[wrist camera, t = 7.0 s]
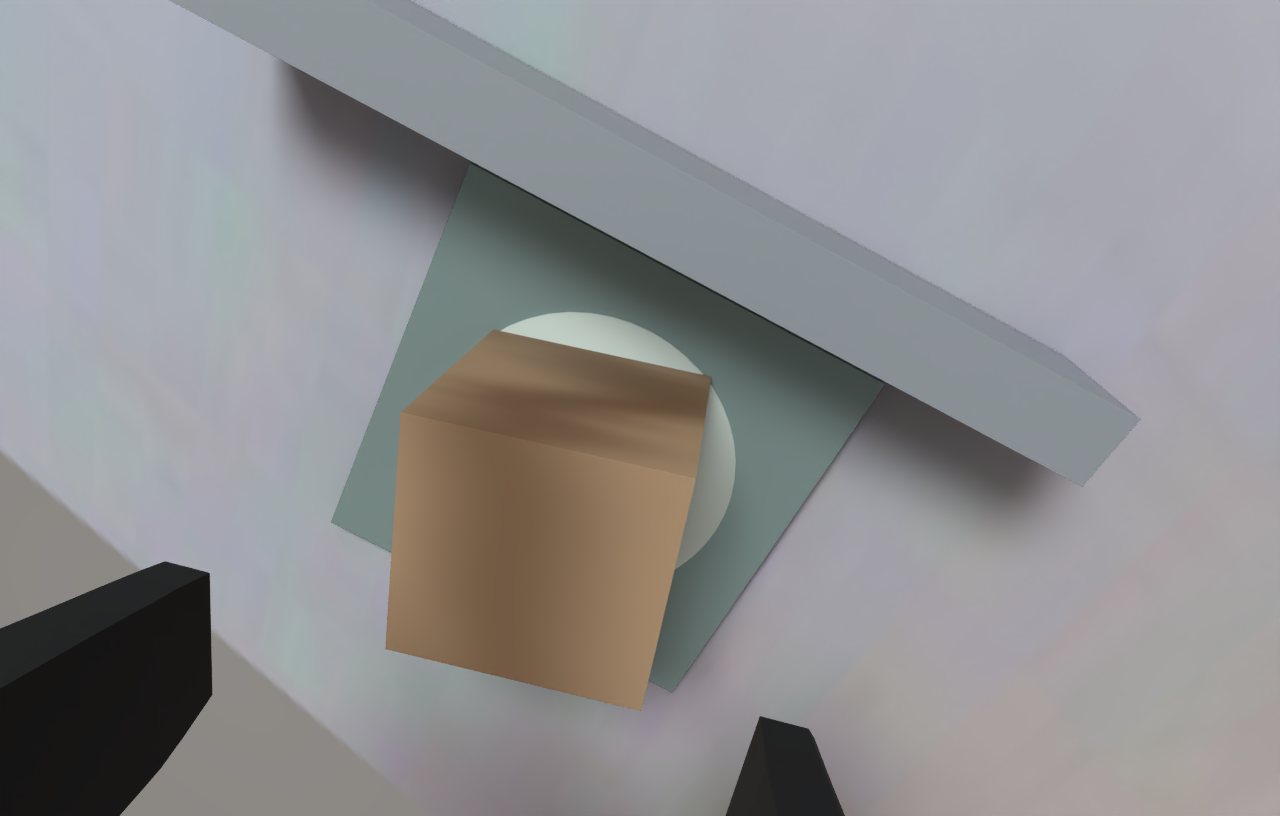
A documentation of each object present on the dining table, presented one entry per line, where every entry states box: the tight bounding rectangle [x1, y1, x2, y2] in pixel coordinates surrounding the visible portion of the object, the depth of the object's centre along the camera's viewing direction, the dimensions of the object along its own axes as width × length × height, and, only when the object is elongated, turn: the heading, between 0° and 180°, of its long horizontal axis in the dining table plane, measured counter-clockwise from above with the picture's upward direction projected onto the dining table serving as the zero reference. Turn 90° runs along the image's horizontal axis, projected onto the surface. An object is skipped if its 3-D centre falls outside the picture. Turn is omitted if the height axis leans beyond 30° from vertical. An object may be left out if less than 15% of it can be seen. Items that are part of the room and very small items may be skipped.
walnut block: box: [385, 329, 711, 711], centre depth 16 cm, size 5×5×5 cm
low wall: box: [170, 0, 1141, 487], centre depth 15 cm, size 18×2×4 cm, turn 64°
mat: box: [331, 162, 885, 692], centre depth 19 cm, size 10×10×1 cm
